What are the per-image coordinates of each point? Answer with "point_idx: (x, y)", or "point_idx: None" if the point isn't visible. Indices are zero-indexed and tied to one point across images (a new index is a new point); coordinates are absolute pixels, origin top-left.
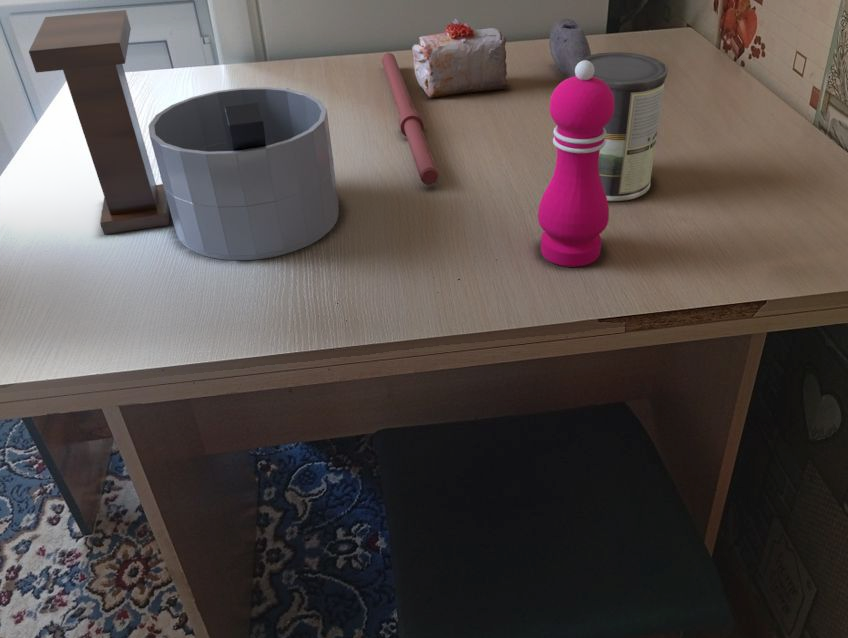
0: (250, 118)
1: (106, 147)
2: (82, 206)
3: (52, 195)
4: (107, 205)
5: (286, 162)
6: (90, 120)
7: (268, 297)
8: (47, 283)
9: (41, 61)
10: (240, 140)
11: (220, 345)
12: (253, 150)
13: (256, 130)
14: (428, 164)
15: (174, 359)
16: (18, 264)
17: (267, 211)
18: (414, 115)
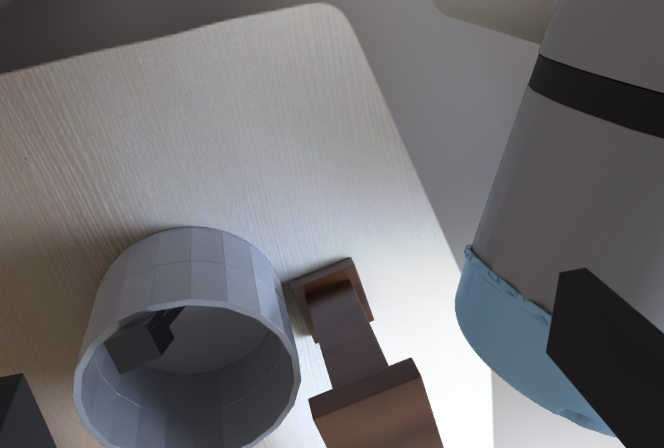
0: (120, 343)
1: (352, 332)
2: (395, 303)
3: (433, 317)
4: (352, 285)
5: (102, 320)
6: (369, 352)
7: (116, 163)
8: (372, 168)
9: (405, 369)
10: (142, 320)
11: (133, 71)
12: (130, 315)
13: (117, 333)
14: None
15: (175, 43)
16: (415, 197)
17: (136, 269)
18: None
